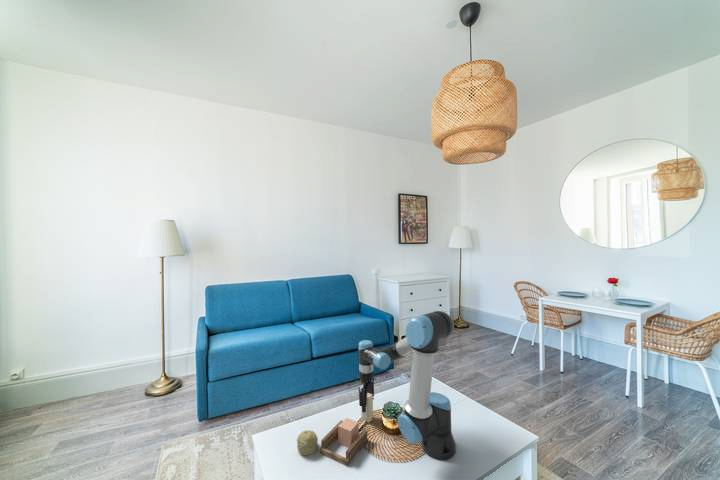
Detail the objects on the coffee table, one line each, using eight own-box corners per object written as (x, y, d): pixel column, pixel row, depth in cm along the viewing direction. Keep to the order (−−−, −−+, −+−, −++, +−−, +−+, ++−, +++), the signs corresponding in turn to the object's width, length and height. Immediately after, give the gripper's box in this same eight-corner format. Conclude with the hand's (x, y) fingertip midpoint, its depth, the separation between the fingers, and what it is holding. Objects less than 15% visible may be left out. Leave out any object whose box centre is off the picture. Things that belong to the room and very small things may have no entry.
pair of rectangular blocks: (375, 419, 148) (374, 394, 148) (351, 448, 127) (350, 420, 127) (363, 415, 151) (363, 391, 151) (338, 443, 131) (337, 415, 131)
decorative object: (296, 455, 129) (289, 446, 123) (307, 432, 136) (301, 422, 131) (313, 463, 125) (307, 454, 120) (323, 439, 132) (318, 429, 127)
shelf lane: (367, 440, 132) (367, 429, 132) (347, 466, 118) (347, 454, 118) (341, 429, 140) (341, 420, 140) (319, 452, 125) (319, 441, 125)
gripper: (368, 362, 157) (369, 403, 157) (351, 376, 142) (352, 421, 142) (379, 365, 153) (380, 407, 153) (364, 379, 138) (365, 426, 138)
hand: (367, 414), depth 148 cm, fingers closed on pair of rectangular blocks, 4 cm apart
